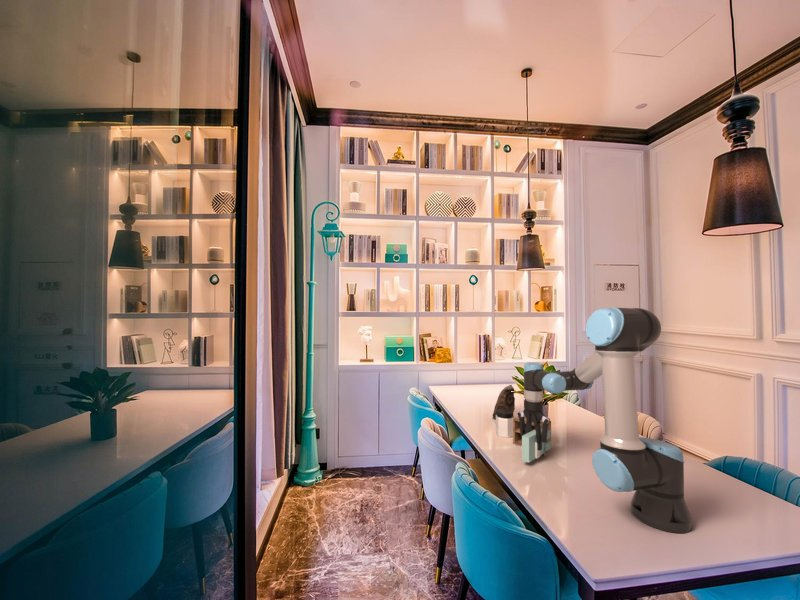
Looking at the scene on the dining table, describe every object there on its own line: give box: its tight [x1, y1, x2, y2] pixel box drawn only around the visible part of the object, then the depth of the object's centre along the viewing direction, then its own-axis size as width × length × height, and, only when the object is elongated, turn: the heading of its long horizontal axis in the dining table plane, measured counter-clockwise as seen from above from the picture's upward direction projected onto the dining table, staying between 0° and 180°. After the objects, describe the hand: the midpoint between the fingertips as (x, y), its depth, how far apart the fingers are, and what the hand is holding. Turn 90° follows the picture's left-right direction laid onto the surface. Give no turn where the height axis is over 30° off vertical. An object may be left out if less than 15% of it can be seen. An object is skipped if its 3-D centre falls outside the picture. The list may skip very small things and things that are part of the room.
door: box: [521, 428, 552, 463], centre depth 149 cm, size 19×5×10 cm, turn 134°
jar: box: [495, 409, 514, 438], centre depth 179 cm, size 9×8×12 cm
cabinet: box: [512, 415, 552, 447], centre depth 165 cm, size 10×14×12 cm
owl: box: [492, 384, 516, 421], centre depth 202 cm, size 13×13×20 cm
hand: (533, 455), depth 147 cm, fingers closed on door, 3 cm apart
